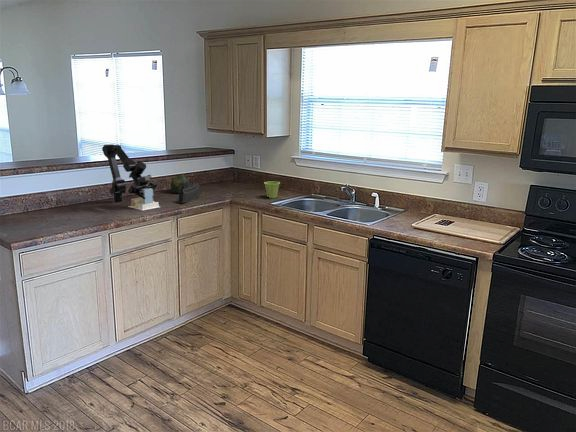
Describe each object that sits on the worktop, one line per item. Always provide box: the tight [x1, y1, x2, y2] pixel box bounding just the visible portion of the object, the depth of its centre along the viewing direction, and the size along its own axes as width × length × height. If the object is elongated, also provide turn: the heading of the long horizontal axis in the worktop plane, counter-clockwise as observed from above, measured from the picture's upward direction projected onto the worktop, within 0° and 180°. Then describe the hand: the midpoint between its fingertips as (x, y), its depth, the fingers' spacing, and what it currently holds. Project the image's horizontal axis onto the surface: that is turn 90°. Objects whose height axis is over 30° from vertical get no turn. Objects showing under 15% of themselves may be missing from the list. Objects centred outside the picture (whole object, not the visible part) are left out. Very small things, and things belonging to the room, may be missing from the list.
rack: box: [127, 200, 161, 211], centre depth 291 cm, size 16×14×4 cm
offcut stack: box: [130, 197, 143, 208], centre depth 293 cm, size 7×10×4 cm
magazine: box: [177, 181, 202, 204], centre depth 319 cm, size 17×3×30 cm
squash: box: [170, 173, 191, 194], centre depth 345 cm, size 14×15×15 cm
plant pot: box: [263, 181, 281, 199], centre depth 336 cm, size 12×12×11 cm
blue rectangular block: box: [142, 188, 154, 205], centre depth 287 cm, size 2×6×12 cm, turn 143°
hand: (149, 198), depth 286 cm, fingers closed on blue rectangular block, 6 cm apart
